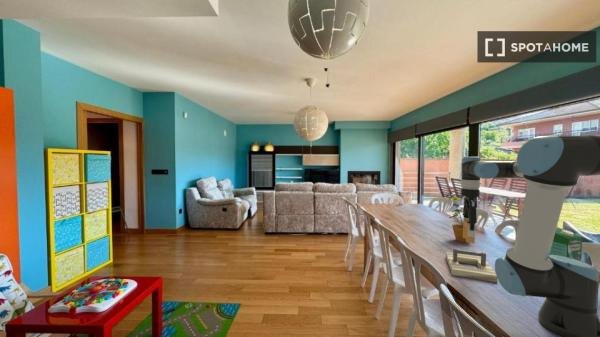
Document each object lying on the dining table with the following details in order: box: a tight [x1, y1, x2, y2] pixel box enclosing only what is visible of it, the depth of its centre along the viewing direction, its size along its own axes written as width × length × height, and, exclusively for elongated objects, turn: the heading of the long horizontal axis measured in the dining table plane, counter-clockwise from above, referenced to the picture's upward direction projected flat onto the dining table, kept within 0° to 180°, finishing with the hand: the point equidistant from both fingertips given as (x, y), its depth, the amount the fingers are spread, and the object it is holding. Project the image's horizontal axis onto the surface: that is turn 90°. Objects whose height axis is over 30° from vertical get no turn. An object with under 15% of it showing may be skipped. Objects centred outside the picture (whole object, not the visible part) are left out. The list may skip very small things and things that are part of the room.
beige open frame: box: [445, 252, 498, 283], centre depth 131 cm, size 25×18×3 cm
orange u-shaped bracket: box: [462, 219, 476, 244], centre depth 123 cm, size 9×3×9 cm, turn 157°
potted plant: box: [448, 196, 474, 243], centre depth 176 cm, size 18×19×30 cm
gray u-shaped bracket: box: [452, 248, 487, 266], centre depth 131 cm, size 2×14×9 cm, turn 66°
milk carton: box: [549, 226, 583, 262], centre depth 114 cm, size 9×9×25 cm
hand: (468, 233), depth 123 cm, fingers closed on orange u-shaped bracket, 9 cm apart
